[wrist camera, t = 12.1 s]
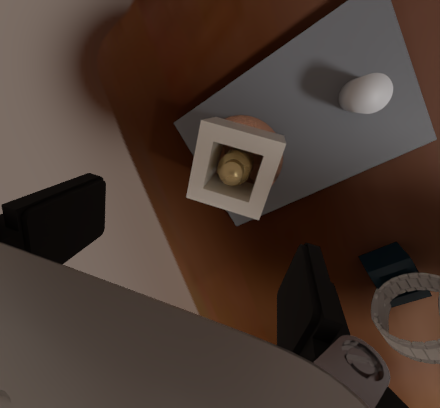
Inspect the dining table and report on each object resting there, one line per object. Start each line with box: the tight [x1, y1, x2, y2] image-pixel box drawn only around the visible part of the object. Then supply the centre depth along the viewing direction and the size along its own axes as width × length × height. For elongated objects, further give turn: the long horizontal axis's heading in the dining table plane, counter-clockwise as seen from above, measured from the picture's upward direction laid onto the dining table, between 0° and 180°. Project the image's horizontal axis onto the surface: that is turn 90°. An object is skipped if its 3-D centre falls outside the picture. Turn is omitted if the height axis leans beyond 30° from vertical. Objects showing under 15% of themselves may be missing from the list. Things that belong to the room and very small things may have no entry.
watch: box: [358, 242, 440, 364], centre depth 24 cm, size 6×8×11 cm
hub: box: [216, 115, 283, 186], centre depth 23 cm, size 9×9×6 cm
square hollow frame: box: [186, 117, 286, 220], centre depth 23 cm, size 7×7×6 cm
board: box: [174, 0, 437, 226], centre depth 22 cm, size 21×14×6 cm, turn 121°
